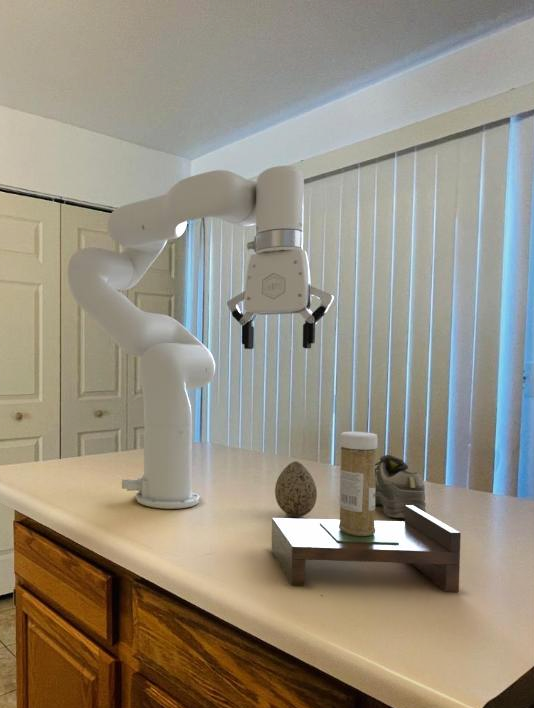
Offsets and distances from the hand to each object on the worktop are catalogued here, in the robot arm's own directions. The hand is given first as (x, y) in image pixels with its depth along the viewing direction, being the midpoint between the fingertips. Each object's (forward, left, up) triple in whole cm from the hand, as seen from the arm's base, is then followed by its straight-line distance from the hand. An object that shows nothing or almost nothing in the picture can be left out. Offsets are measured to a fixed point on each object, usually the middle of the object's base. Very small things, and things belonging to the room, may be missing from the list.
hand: (277, 348), depth 88 cm
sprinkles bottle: (+7, -18, -25) cm, 32 cm away
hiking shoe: (+25, +14, -31) cm, 42 cm away
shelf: (+7, -18, -30) cm, 36 cm away
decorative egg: (+5, +6, -31) cm, 31 cm away
